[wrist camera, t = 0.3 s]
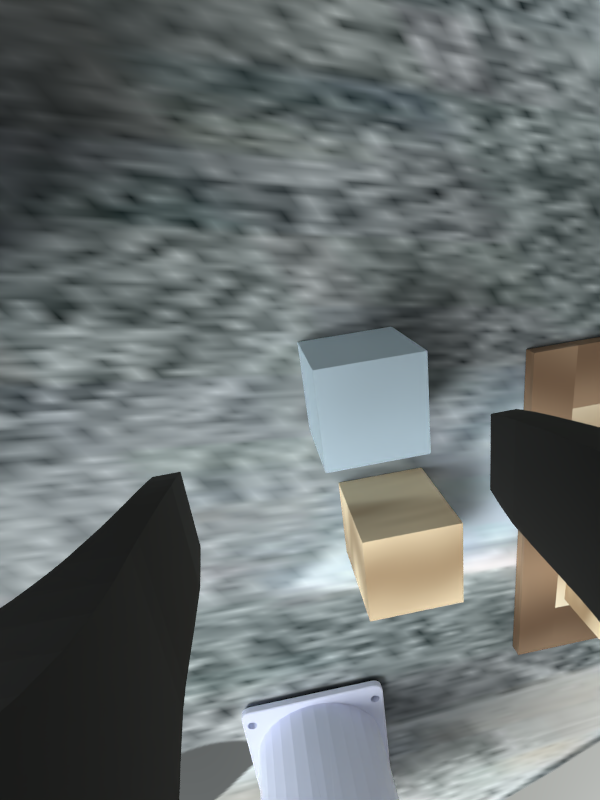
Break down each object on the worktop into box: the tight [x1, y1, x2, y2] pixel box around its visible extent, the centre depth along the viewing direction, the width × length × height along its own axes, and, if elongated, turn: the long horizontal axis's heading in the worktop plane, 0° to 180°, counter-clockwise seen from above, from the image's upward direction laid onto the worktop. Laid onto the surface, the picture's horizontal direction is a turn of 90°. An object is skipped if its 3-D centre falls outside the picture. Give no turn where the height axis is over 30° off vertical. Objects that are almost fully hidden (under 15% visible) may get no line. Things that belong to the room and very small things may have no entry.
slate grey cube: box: [298, 327, 431, 473], centre depth 19 cm, size 4×4×4 cm
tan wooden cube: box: [339, 468, 463, 621], centre depth 21 cm, size 4×4×4 cm
